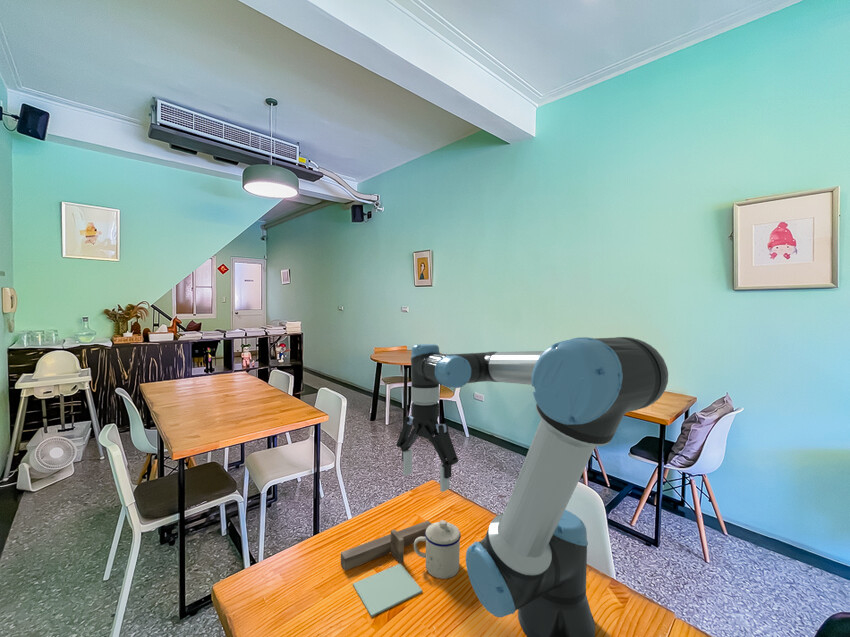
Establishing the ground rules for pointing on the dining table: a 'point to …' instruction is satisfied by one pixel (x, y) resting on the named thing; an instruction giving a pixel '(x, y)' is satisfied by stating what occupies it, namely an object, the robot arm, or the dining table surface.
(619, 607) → the dining table surface
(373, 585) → the mat
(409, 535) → the grey long bar
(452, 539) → the teacup with lid
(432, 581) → the dining table surface
